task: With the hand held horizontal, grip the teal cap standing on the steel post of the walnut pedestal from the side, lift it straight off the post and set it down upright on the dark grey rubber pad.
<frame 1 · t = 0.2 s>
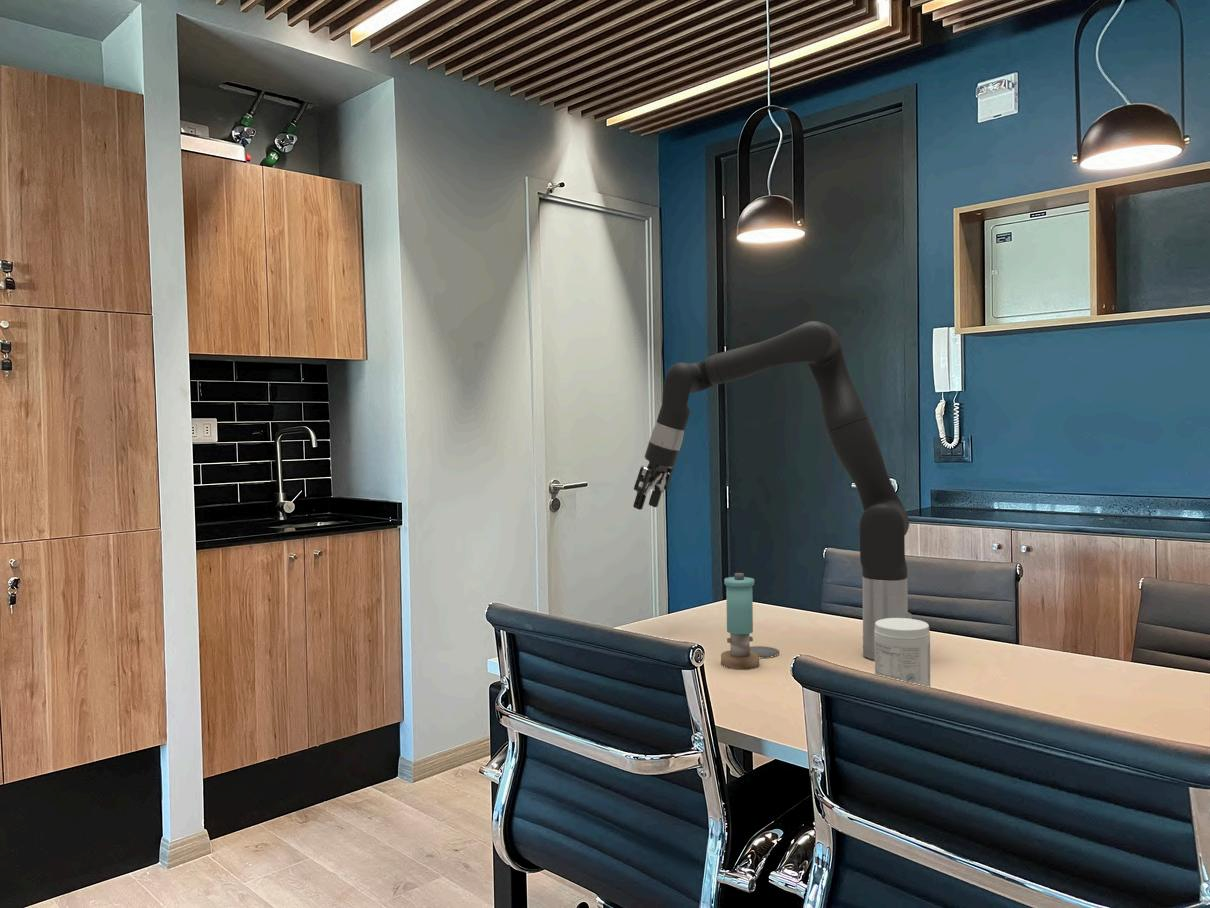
hand: (645, 507, 219), 31 cm above the table, tool tilted 20°, fingers open, 8 cm apart
pad: (760, 653, 199), on the table
post: (740, 664, 191), on the table
supplement tub: (902, 705, 163), on the table
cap: (739, 631, 191), point 7 cm above the table, touching post
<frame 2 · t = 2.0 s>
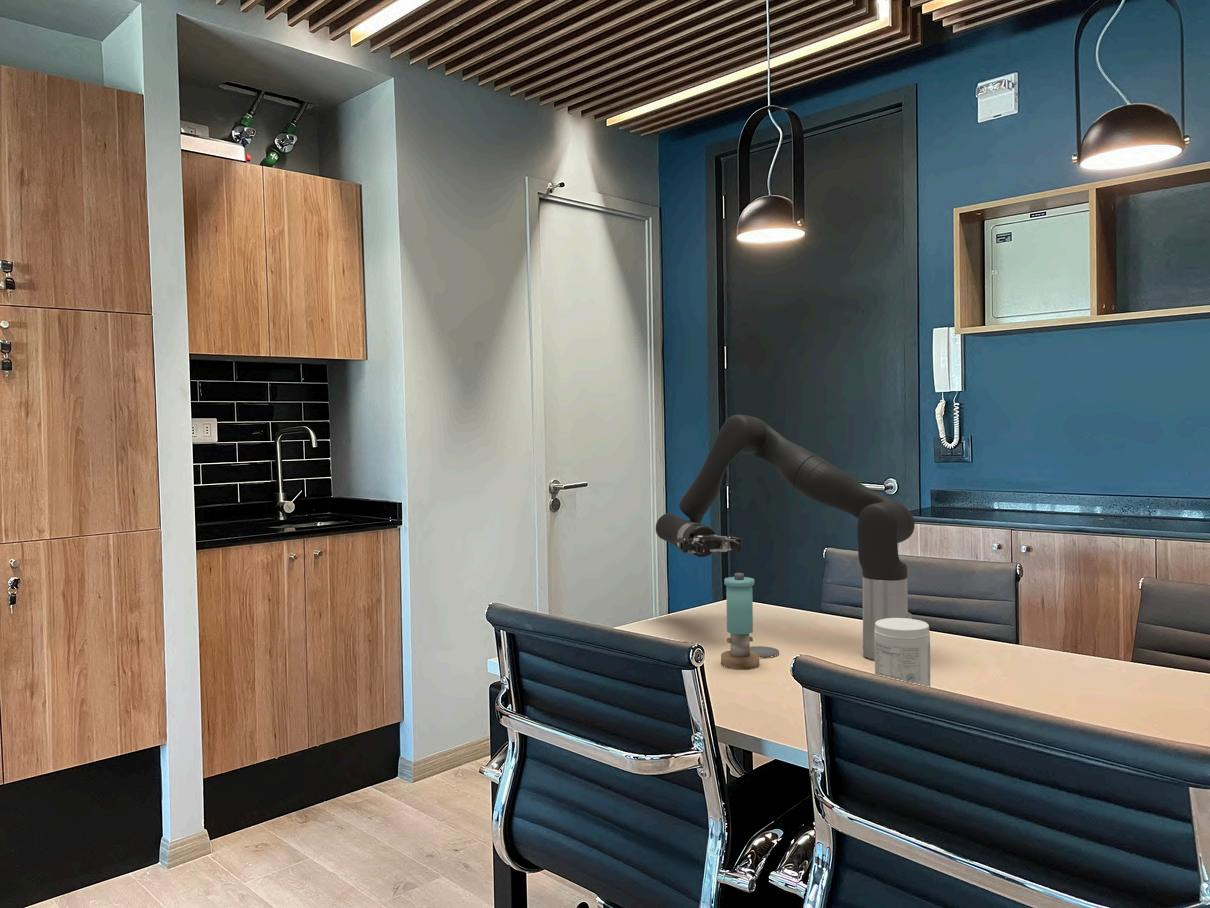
hand: (720, 548, 201), 23 cm above the table, tool horizontal, fingers open, 8 cm apart
nothing on the table moved.
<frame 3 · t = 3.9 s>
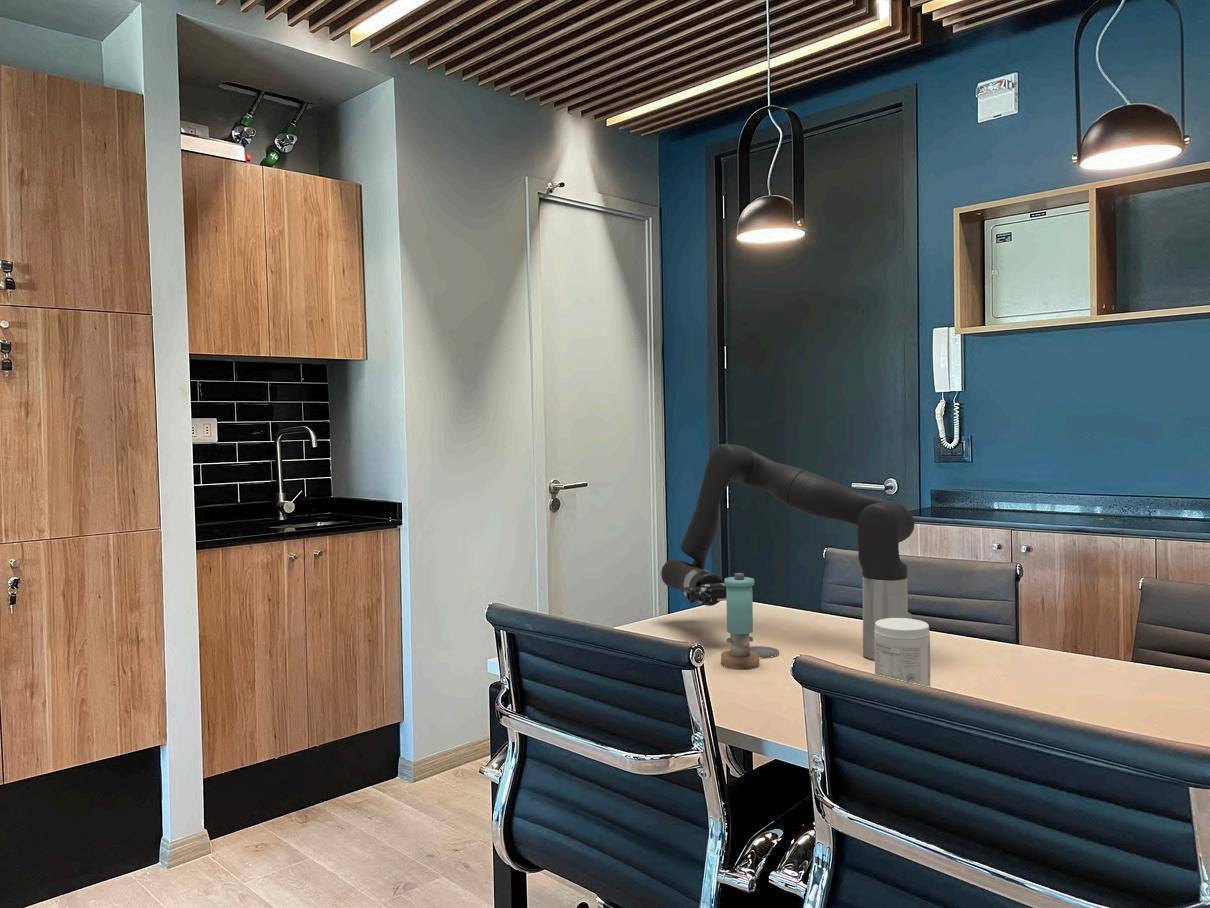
hand: (728, 599, 197), 12 cm above the table, tool horizontal, fingers open, 8 cm apart
nothing on the table moved.
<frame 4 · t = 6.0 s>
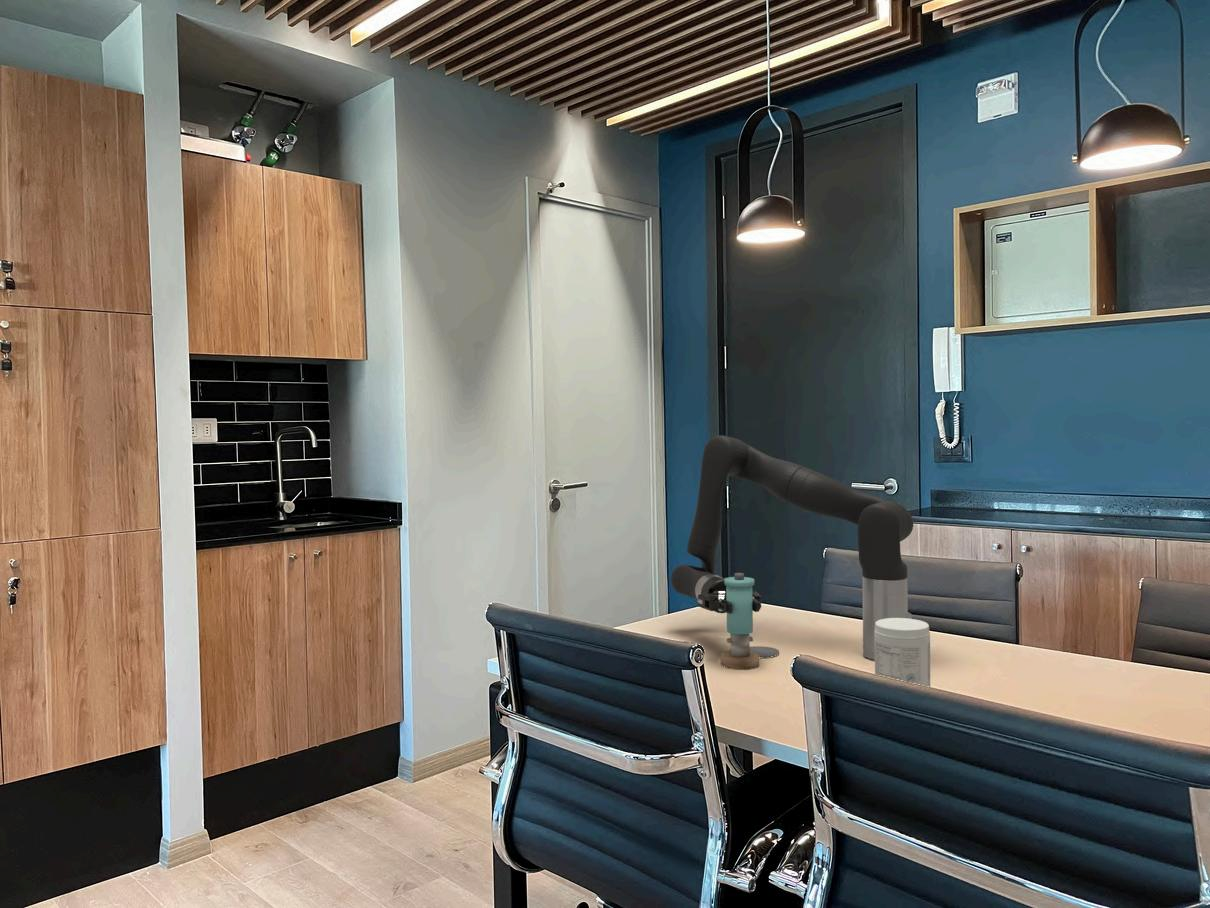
hand: (744, 607, 188), 13 cm above the table, tool horizontal, fingers closed on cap, 5 cm apart
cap: (739, 631, 191), point 7 cm above the table, touching gripper, post
everything else where it was.
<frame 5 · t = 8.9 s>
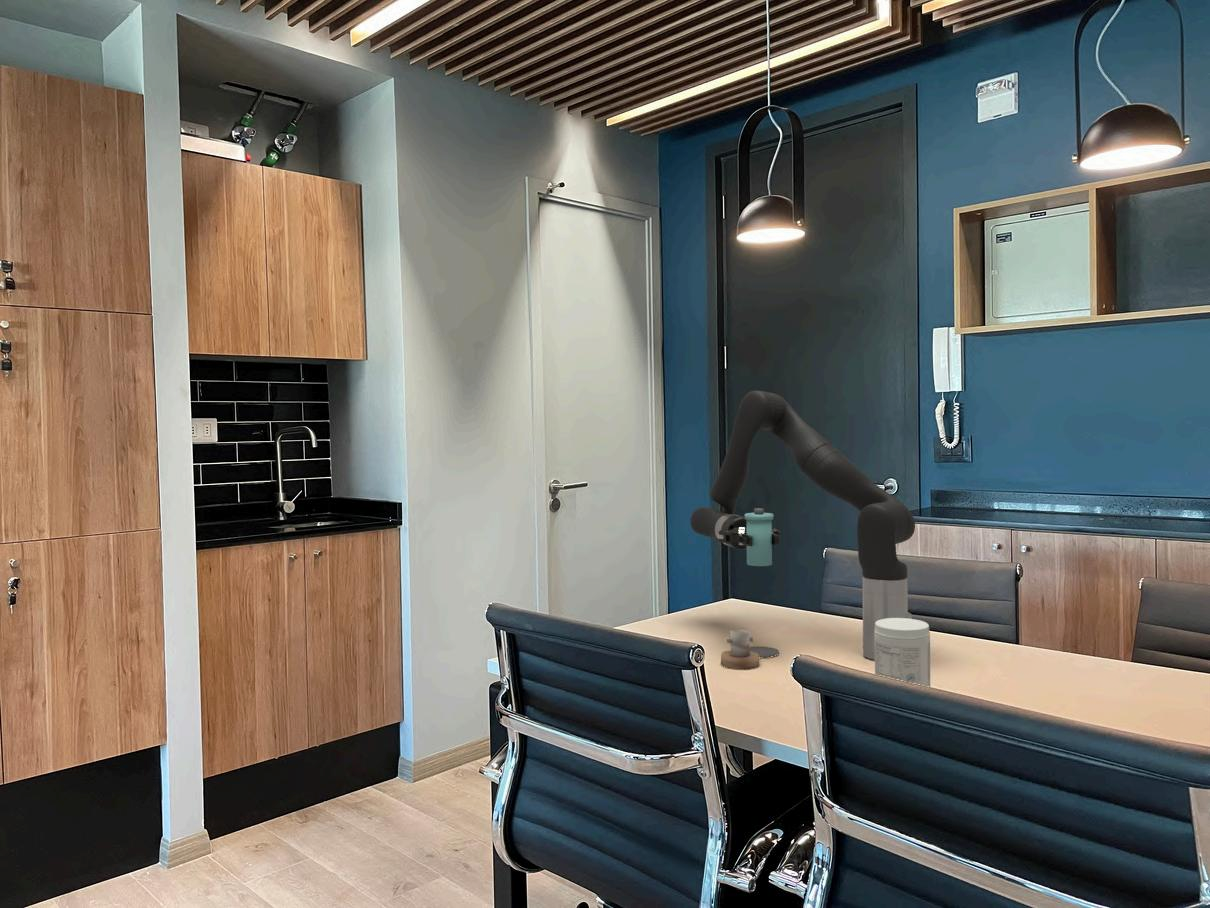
hand: (763, 540, 196), 25 cm above the table, tool horizontal, fingers closed on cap, 5 cm apart
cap: (759, 564, 199), point 20 cm above the table, touching gripper
everything else where it was.
when the fingers open (8 cm above the table, at t = 11.9 s): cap drops 2 cm, resting on pad.
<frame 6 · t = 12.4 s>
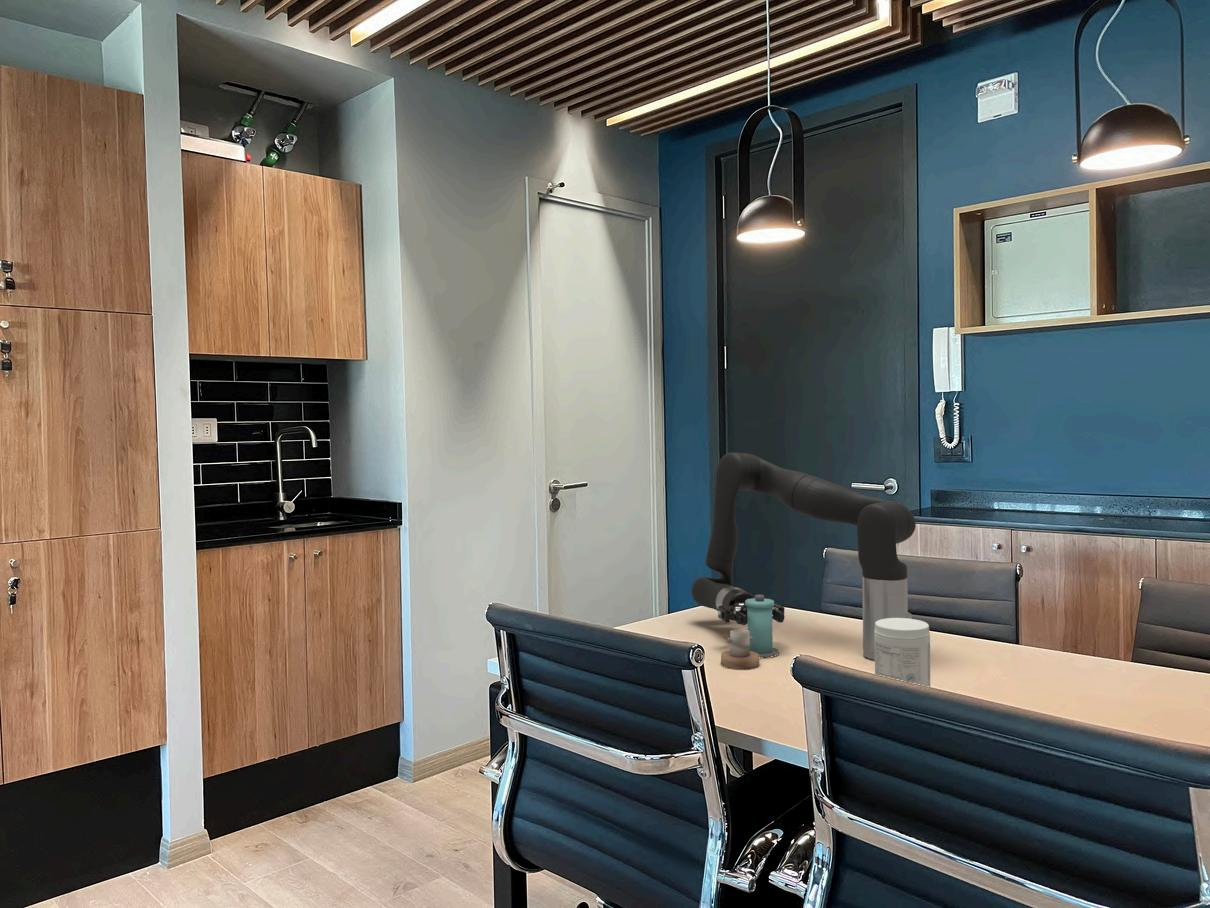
hand: (763, 619, 197), 8 cm above the table, tool horizontal, fingers open, 8 cm apart
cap: (760, 650, 199), point 1 cm above the table, touching pad
everything else where it was.
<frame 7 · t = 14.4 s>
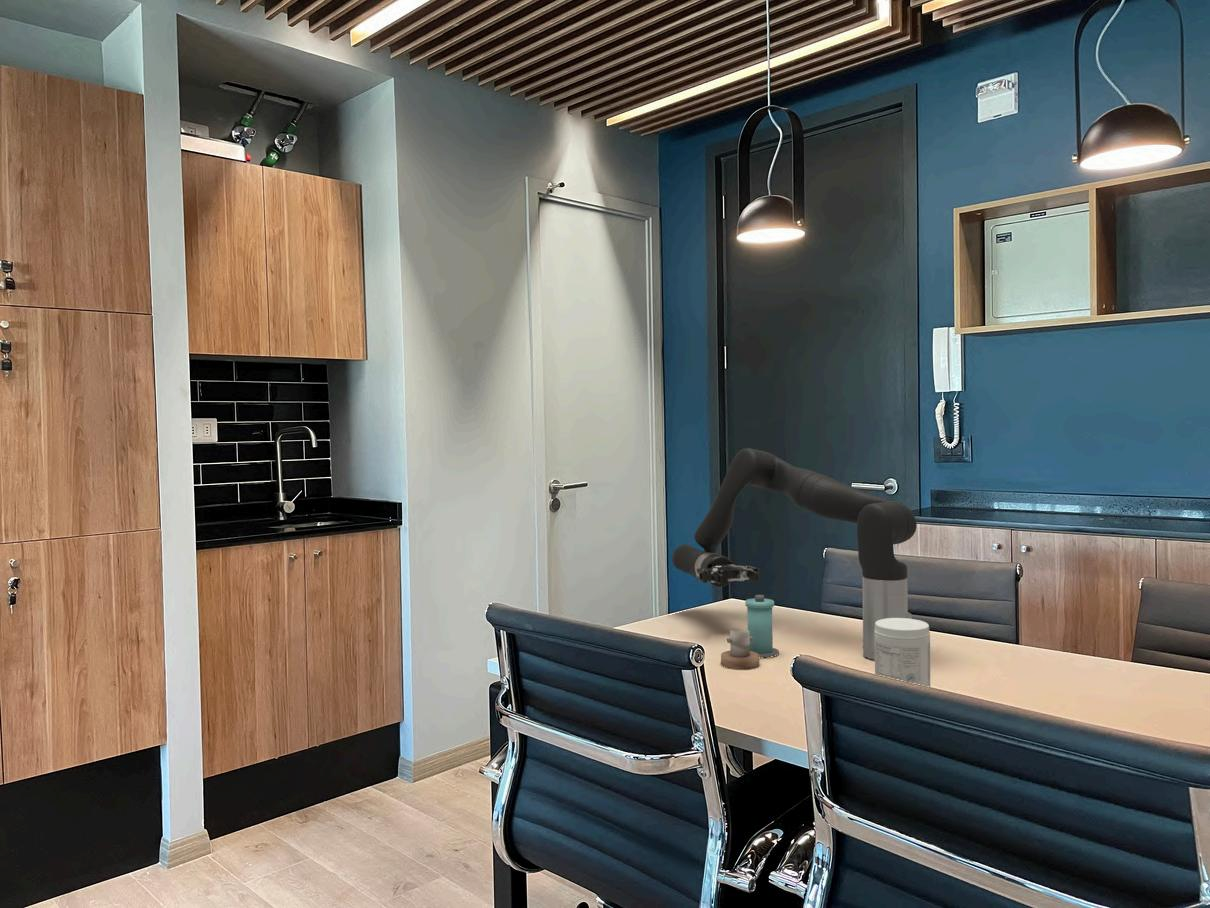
hand: (739, 578, 209), 15 cm above the table, tool horizontal, fingers open, 8 cm apart
nothing on the table moved.
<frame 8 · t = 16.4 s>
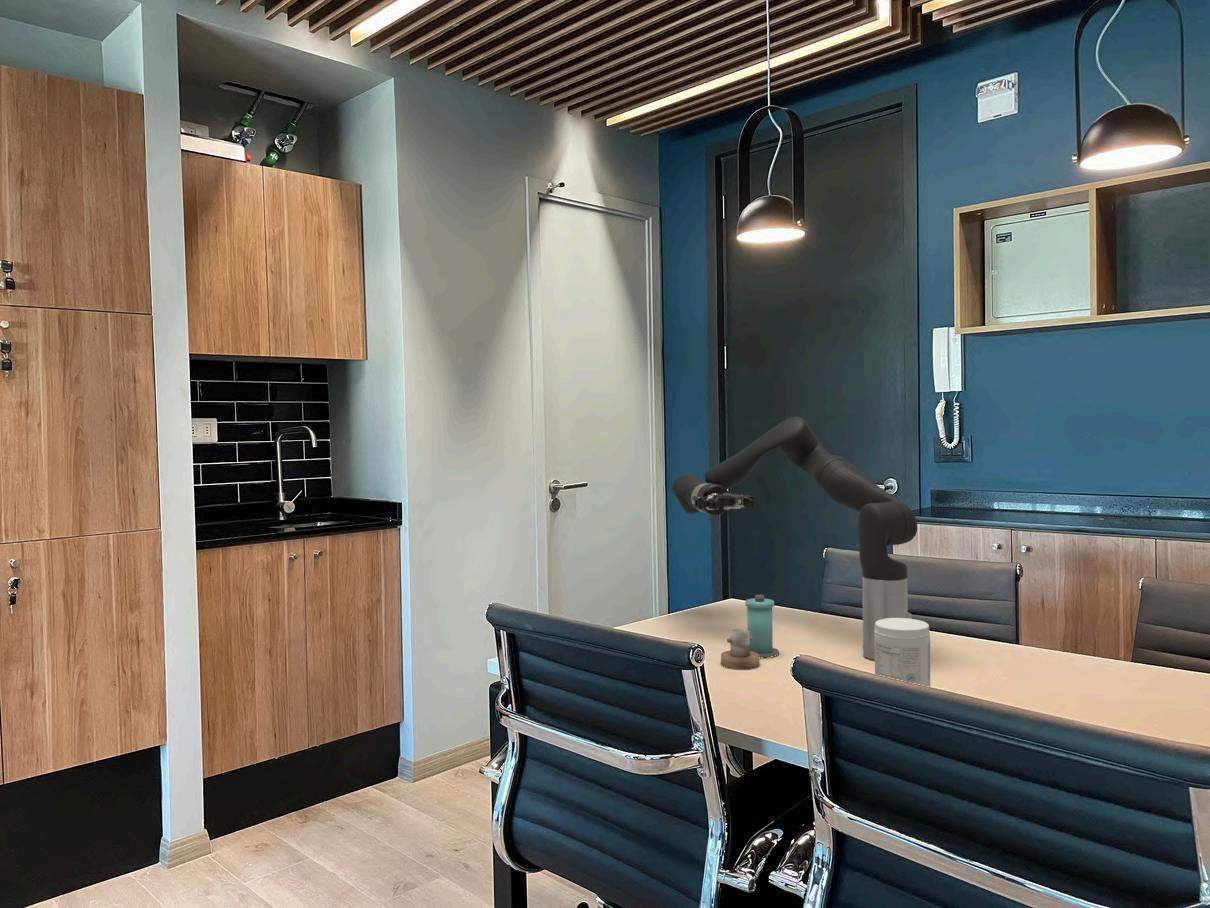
hand: (734, 504, 209), 32 cm above the table, tool horizontal, fingers open, 8 cm apart
nothing on the table moved.
at the end: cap 0.1 cm from the pad (horizontally); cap point 0.6 cm above the table; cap tilted 0° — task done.
